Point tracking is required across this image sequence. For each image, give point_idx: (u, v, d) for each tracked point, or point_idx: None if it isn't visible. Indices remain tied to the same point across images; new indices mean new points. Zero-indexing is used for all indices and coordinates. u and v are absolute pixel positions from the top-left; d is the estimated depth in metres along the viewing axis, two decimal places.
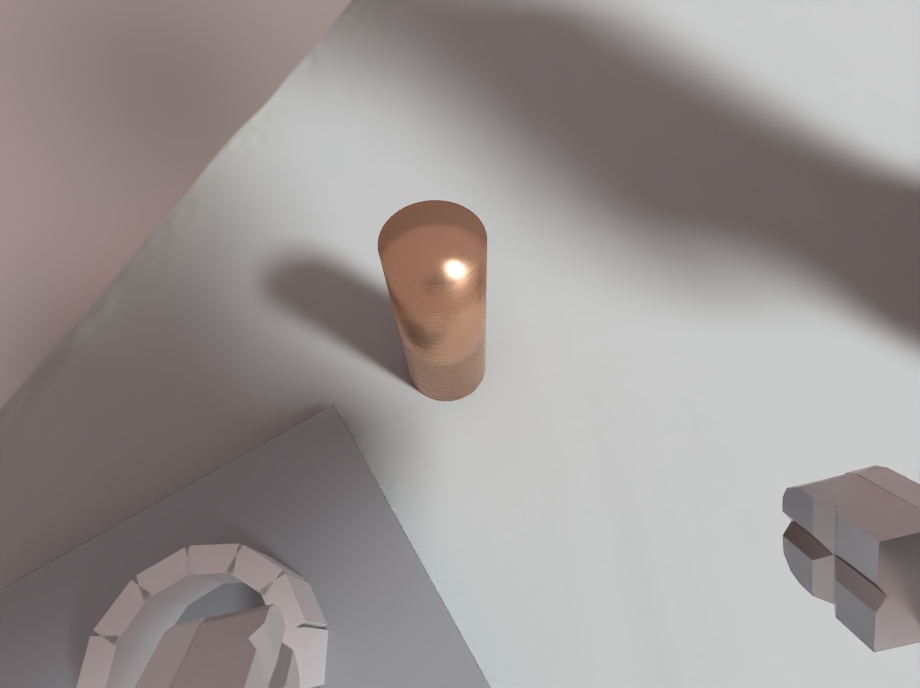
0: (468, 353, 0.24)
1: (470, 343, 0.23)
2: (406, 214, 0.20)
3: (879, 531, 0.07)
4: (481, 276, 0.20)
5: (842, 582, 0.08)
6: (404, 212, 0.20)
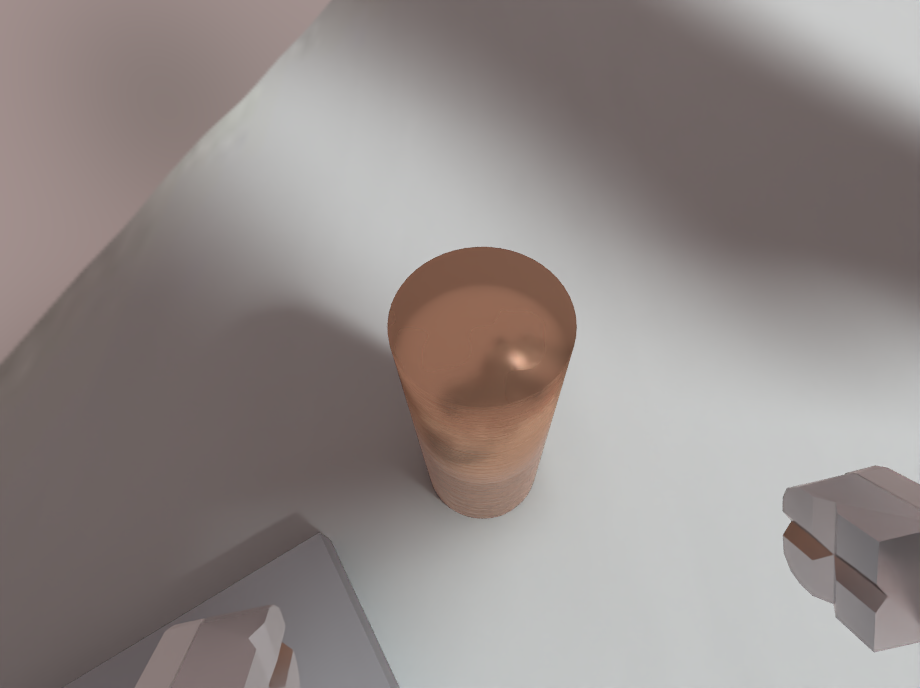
0: (524, 472, 0.16)
1: (529, 461, 0.15)
2: (435, 271, 0.12)
3: (879, 531, 0.07)
4: (563, 379, 0.12)
5: (842, 582, 0.08)
6: (432, 268, 0.12)
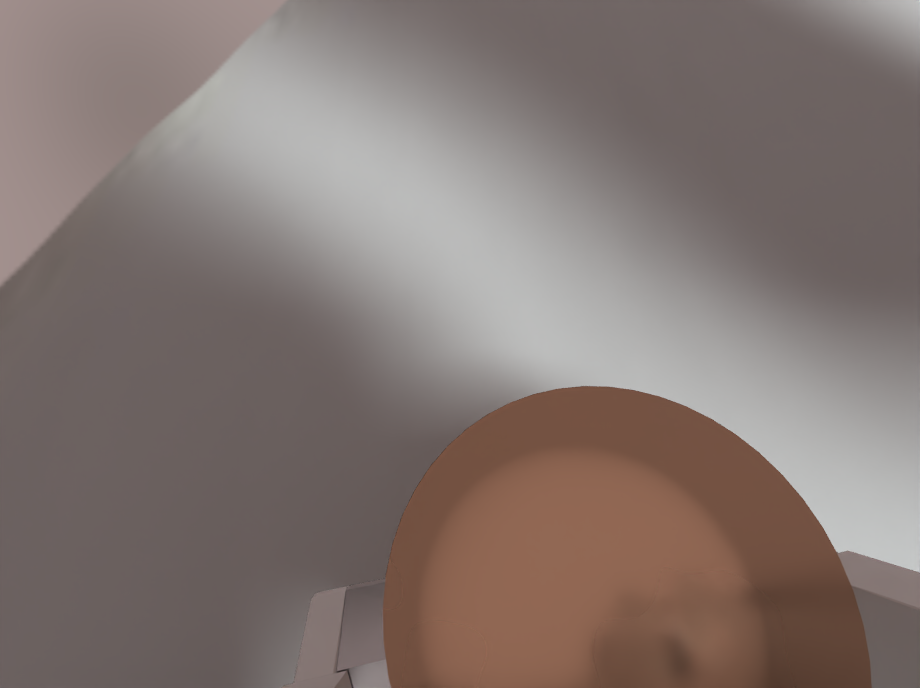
0: None
1: None
2: (494, 452, 0.05)
3: None
4: None
5: None
6: (484, 440, 0.05)
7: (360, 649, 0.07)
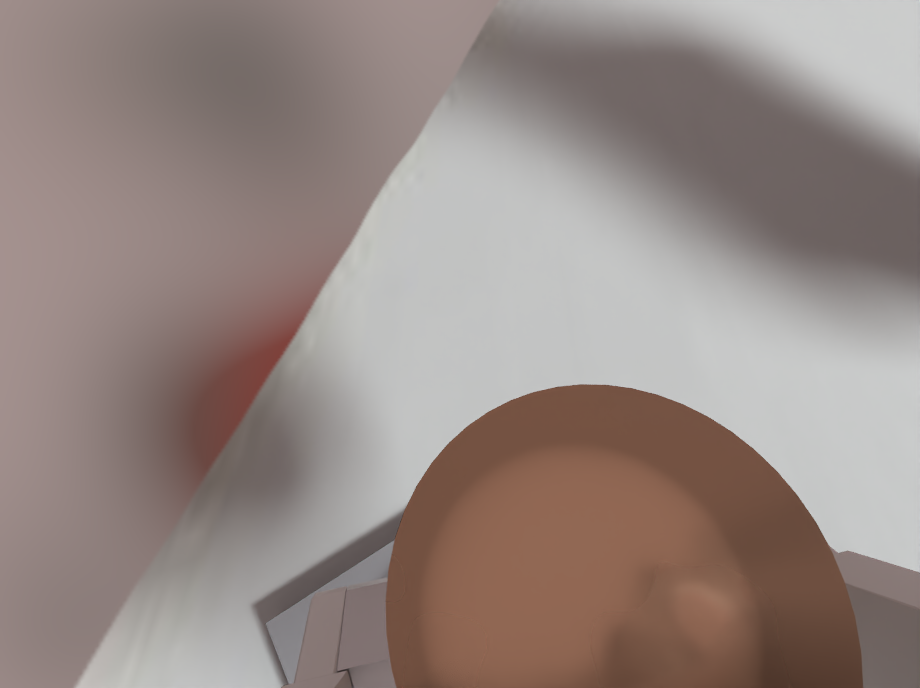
0: None
1: None
2: (494, 449, 0.05)
3: None
4: None
5: None
6: (485, 437, 0.05)
7: (360, 649, 0.07)
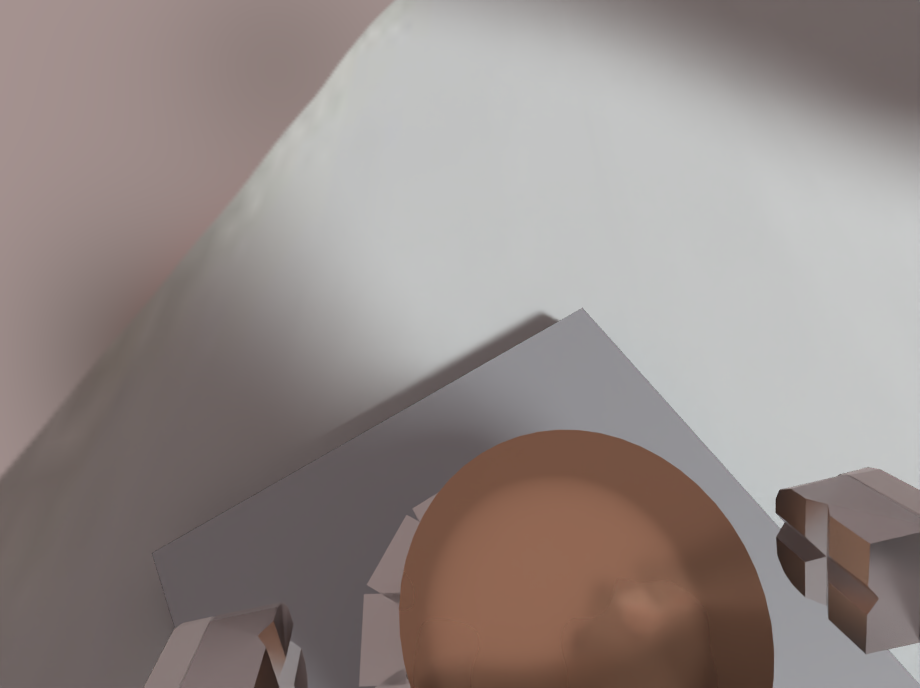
0: None
1: None
2: (486, 484, 0.07)
3: (871, 533, 0.07)
4: None
5: (834, 584, 0.08)
6: (479, 474, 0.07)
7: (201, 686, 0.06)
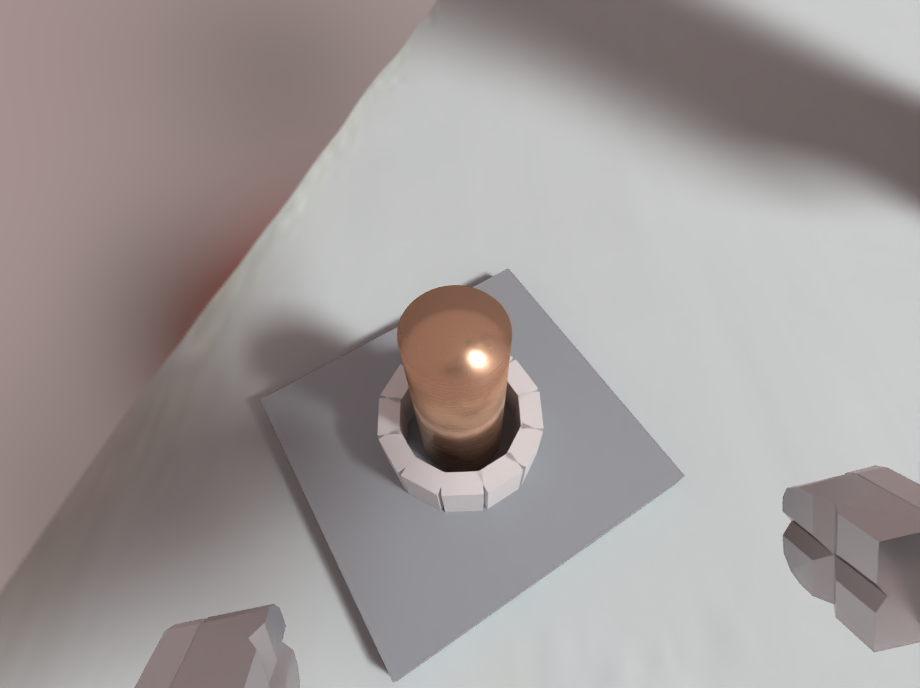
0: (487, 434, 0.23)
1: (490, 426, 0.22)
2: (426, 301, 0.19)
3: (879, 531, 0.07)
4: (505, 368, 0.19)
5: (842, 582, 0.08)
6: (424, 298, 0.19)
7: None
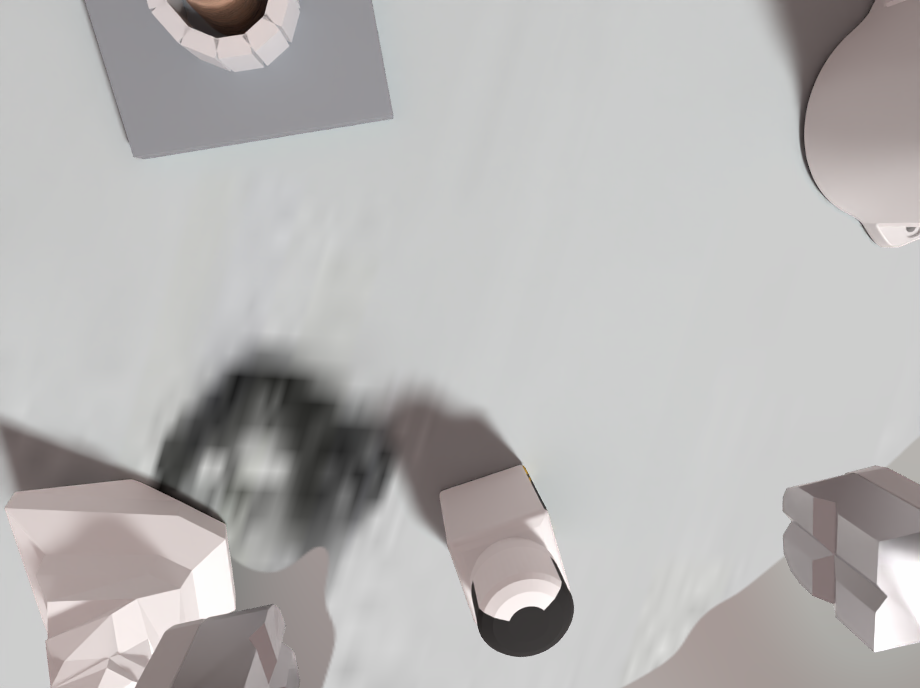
0: (223, 10, 0.28)
1: (222, 5, 0.27)
2: None
3: (879, 531, 0.07)
4: None
5: (842, 582, 0.08)
6: None
7: None
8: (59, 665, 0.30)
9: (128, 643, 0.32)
